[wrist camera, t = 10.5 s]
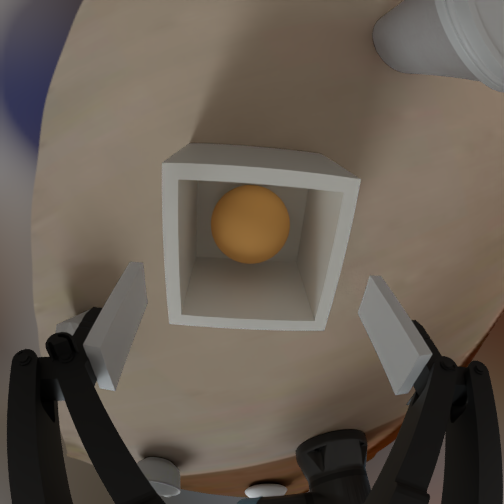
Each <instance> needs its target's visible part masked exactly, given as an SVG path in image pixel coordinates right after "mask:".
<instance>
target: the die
mask: <svg viewBox="0 0 504 504" xmlns="http://www.w3.org/2000/svg"><path fill="white" fill-rule="evenodd" d="M88 311H89V310H88ZM88 311H85V312H83V313H81V314H79V315H77V316H74V317H72V318H70V319H68V320H66V321H63V322H61V323H59V324H57V326H56V333H59V332H67V333H69V334H71V335H72V336H73V334H74V333H75V331H76V329H77V327H78V326H79V324H80V322H82V319H83V317H84V315H85V314H86V313H87V312H88Z"/></svg>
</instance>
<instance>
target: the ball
mask: <svg viewBox="0 0 504 504" xmlns="http://www.w3.org/2000/svg"><path fill="white" fill-rule="evenodd" d="M289 230H290V218H289V214H288V211H287V208H286V206H285V204H284V203H283V201H282V200H281V199H280V198H279V197H278V196H277V195H276V194H275V193H274V192H272V191H271V190H269V189H267V188H265V187H262V186H257V185H243V186H239V187H236V188H234V189H232V190H230V191H228V192H227V193H226V194H224V195H223V196H222V197H221V199H220V200H219V201H218V202H217V204H216V206H215V208H214V210H213V213H212V217H211V232H212V236H213V239H214V241H215V243H216V245H217V246H218V248H219V249H220V250H221V251H222V252H223V253H224V254H225V255H226V256H227V257H229V258H231V259H232V260H234V261H237V262H240V263H245V264H256V263H260V262H264V261H266V260H268V259H270V258H272V257H273V256H275V255H276V254H277V253H278V252H279V251H280V250H281V249H282V247H283V246H284V244H285V242H286V240H287V238H288V235H289Z"/></svg>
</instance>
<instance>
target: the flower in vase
mask: <svg viewBox="0 0 504 504" xmlns="http://www.w3.org/2000/svg"><path fill="white" fill-rule="evenodd" d="M286 491H287V488H286V487H285V486H283V485H279V484H259V485H254V486H251V487H249V488H247V489H246V490H245V493H246V495H247V496H248V497H249V498H256V497H260V496H263V497H267V496H282V495H284V494H285V493H286Z"/></svg>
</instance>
